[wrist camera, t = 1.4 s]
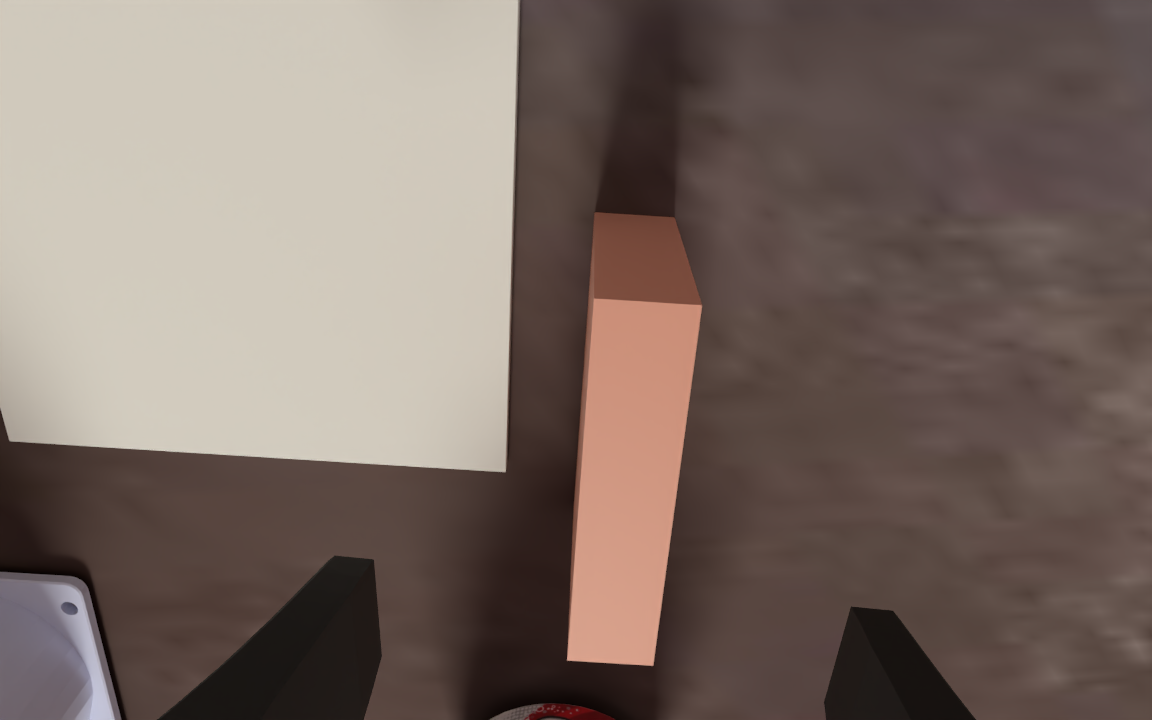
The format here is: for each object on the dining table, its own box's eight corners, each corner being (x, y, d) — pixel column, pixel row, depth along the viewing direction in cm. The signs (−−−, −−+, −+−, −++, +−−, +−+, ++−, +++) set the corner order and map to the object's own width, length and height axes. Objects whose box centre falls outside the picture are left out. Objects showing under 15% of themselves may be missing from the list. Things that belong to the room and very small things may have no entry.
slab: (640, 511, 24) (653, 665, 19) (573, 507, 24) (567, 660, 19) (674, 216, 21) (702, 305, 15) (594, 211, 21) (593, 298, 15)
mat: (507, 462, 24) (505, 472, 23) (20, 432, 24) (9, 441, 23) (522, -89, 18) (521, -91, 17) (-132, -133, 18) (-151, -136, 17)
